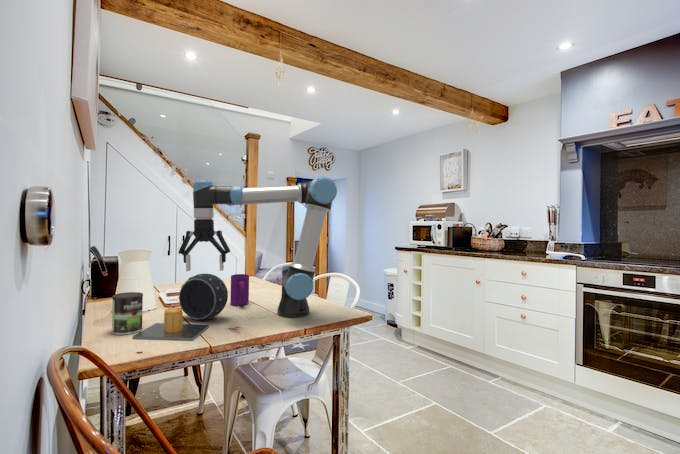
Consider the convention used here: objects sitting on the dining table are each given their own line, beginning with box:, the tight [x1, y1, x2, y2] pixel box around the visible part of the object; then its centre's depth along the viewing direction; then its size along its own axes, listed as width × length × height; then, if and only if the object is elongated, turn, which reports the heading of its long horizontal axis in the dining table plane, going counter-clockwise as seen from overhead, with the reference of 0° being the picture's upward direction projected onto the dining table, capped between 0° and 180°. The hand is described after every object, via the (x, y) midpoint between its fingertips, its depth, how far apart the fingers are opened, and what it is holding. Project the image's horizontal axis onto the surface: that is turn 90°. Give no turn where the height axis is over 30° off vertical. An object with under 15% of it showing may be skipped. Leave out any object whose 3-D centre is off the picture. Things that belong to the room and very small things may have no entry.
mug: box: [230, 273, 250, 307], centre depth 179 cm, size 9×16×15 cm, turn 24°
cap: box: [163, 307, 184, 333], centre depth 136 cm, size 6×6×8 cm
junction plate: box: [132, 322, 210, 342], centre depth 136 cm, size 22×16×7 cm
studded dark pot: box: [178, 273, 229, 322], centre depth 154 cm, size 11×20×20 cm, turn 78°
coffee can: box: [111, 291, 144, 336], centre depth 137 cm, size 10×10×14 cm
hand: (205, 270), depth 144 cm, fingers open, 13 cm apart
